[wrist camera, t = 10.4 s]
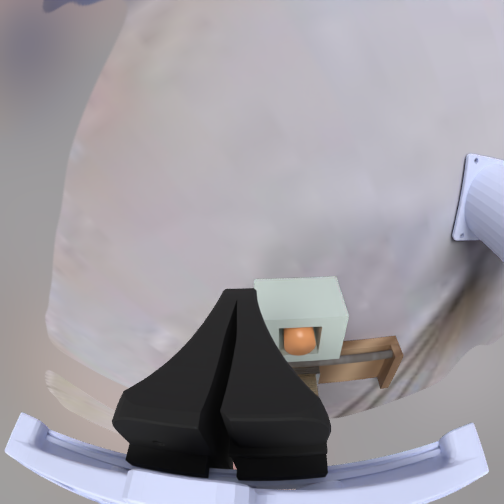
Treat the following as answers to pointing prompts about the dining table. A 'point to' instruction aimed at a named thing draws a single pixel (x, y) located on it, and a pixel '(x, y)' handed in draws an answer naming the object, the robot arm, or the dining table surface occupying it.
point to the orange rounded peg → (299, 340)
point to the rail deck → (360, 361)
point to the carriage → (309, 376)
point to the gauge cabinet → (304, 313)
